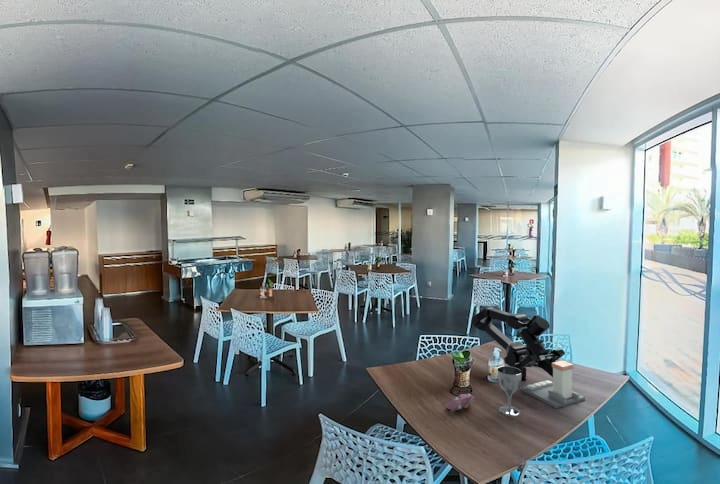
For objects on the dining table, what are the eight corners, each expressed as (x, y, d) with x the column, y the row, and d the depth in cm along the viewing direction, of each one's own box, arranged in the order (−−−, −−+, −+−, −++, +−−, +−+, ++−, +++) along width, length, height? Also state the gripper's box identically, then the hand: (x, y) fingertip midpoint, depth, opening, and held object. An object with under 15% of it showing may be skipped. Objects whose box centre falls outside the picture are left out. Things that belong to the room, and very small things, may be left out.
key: (551, 395, 137) (551, 362, 137) (562, 392, 139) (562, 360, 139) (562, 400, 133) (562, 367, 132) (573, 397, 135) (573, 364, 134)
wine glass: (520, 407, 132) (520, 367, 131) (522, 418, 124) (522, 375, 123) (497, 404, 134) (497, 364, 133) (498, 415, 127) (497, 373, 126)
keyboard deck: (521, 390, 145) (521, 382, 145) (548, 383, 151) (548, 375, 150) (557, 409, 130) (557, 400, 130) (586, 400, 135) (586, 392, 135)
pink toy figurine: (452, 417, 129) (458, 404, 126) (444, 406, 132) (450, 393, 129) (472, 410, 134) (478, 397, 131) (464, 400, 137) (470, 387, 134)
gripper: (537, 348, 157) (560, 382, 147) (504, 354, 150) (526, 391, 140) (553, 335, 150) (578, 370, 140) (519, 341, 143) (543, 379, 133)
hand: (556, 378), depth 138 cm, fingers closed
